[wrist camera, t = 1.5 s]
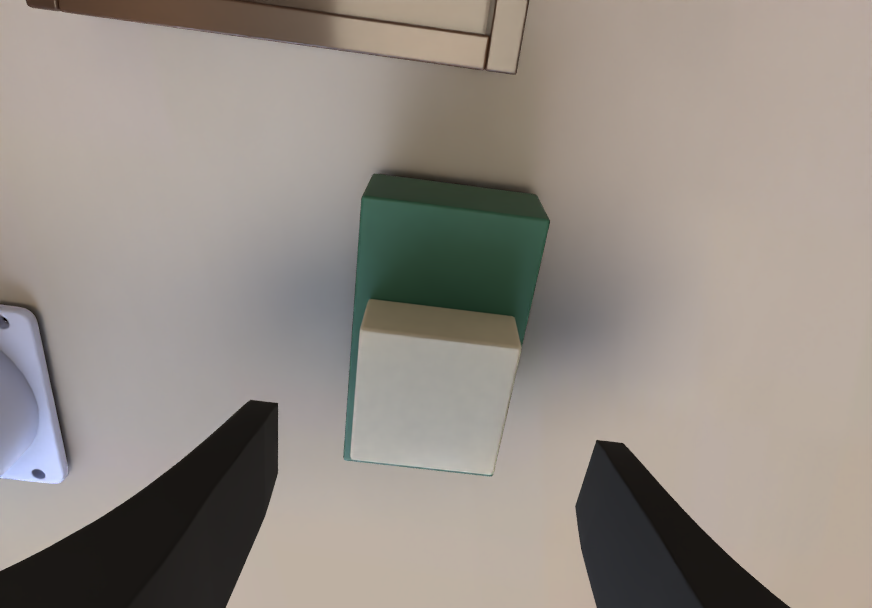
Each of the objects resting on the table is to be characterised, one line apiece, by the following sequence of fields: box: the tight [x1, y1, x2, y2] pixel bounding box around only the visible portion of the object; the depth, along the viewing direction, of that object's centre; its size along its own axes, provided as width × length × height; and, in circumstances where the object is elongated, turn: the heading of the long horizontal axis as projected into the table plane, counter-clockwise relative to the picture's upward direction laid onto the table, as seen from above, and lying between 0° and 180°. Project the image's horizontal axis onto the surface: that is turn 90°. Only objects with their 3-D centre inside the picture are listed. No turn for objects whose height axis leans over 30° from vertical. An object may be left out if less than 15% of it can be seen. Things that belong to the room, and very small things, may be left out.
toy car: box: [343, 174, 550, 476], centre depth 18 cm, size 9×5×5 cm, turn 173°
